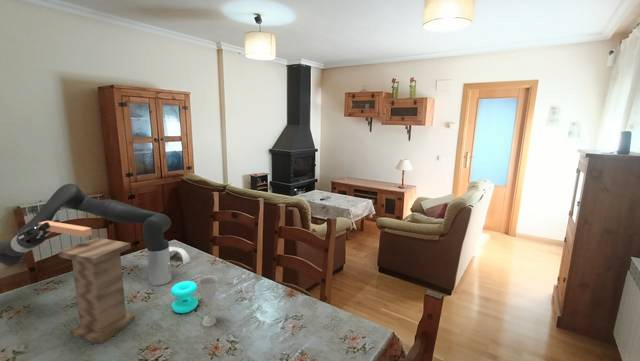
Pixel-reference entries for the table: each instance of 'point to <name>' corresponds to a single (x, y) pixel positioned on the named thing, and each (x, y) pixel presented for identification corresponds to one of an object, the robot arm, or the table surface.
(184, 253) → the white arch
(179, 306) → the cyan spool
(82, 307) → the stand
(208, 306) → the chalice
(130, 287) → the table surface
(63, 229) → the bar
